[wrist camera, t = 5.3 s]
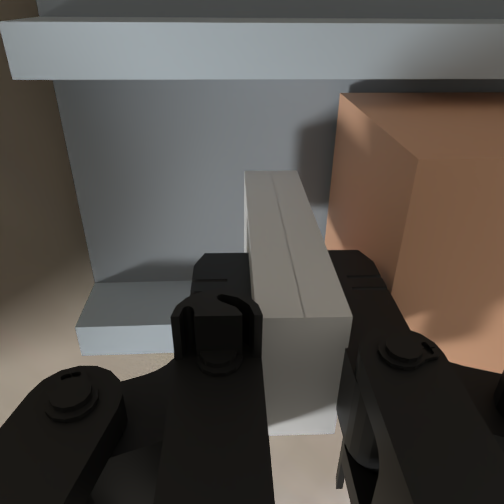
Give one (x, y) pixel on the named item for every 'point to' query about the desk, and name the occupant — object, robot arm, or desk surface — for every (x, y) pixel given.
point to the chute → (218, 120)
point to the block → (428, 211)
